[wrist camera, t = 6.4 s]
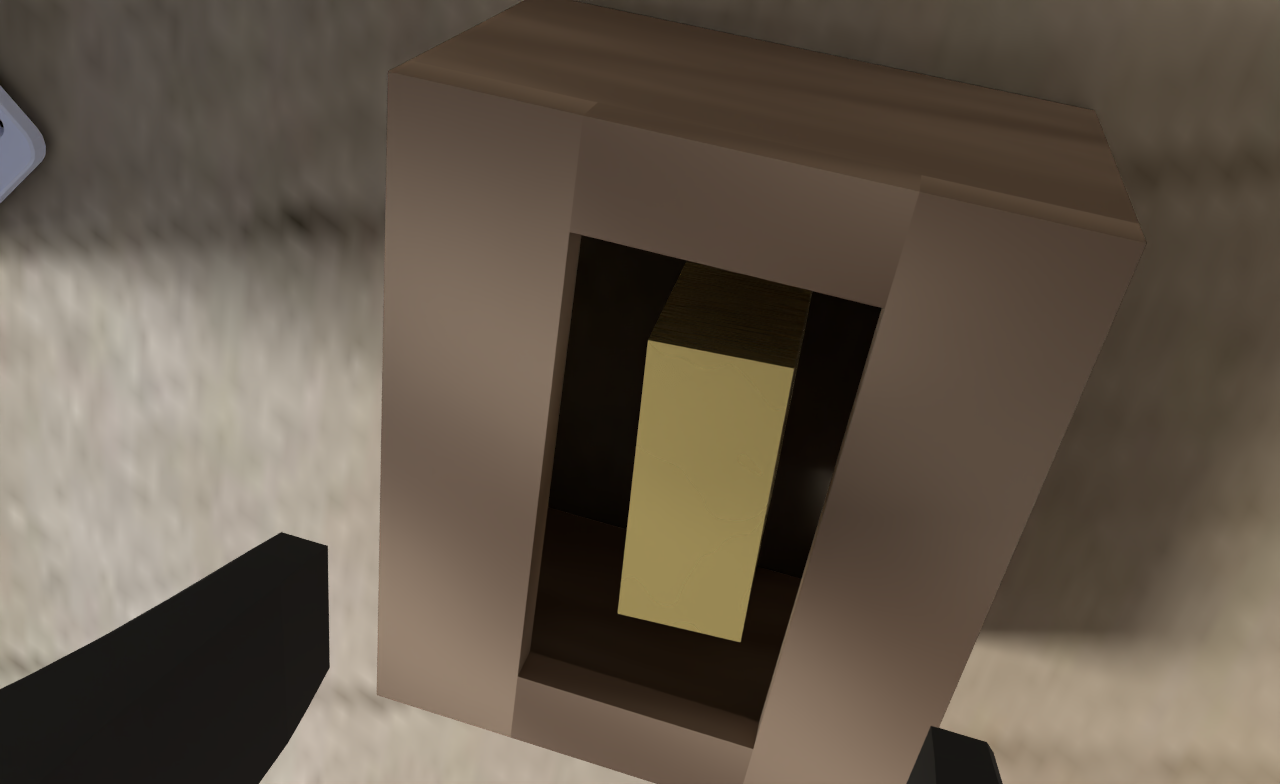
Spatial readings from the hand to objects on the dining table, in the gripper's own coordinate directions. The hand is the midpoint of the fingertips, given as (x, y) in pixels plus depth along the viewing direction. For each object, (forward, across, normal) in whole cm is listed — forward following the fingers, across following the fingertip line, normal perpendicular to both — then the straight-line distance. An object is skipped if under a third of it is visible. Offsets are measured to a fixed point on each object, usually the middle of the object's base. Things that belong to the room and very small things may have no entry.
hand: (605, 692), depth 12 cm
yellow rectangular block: (+9, 0, 0) cm, 9 cm away
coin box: (+9, 0, 0) cm, 9 cm away
